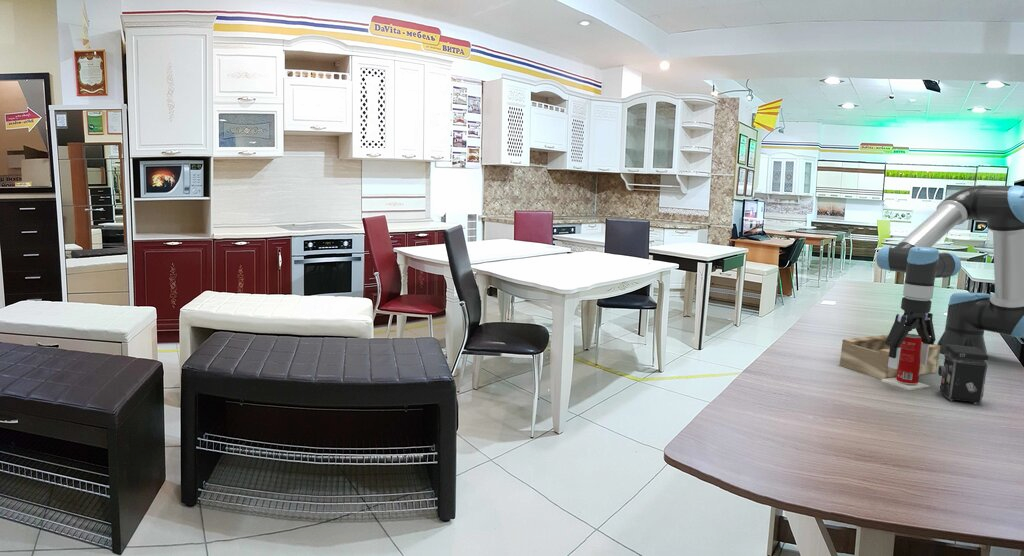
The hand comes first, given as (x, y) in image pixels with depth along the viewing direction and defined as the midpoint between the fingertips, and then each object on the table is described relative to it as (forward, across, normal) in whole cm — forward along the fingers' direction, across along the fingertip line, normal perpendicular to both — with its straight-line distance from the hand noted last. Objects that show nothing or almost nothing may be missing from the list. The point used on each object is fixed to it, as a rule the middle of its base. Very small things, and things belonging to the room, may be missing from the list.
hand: (907, 365), depth 186 cm
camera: (+6, -3, +13) cm, 15 cm away
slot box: (+6, -11, -13) cm, 18 cm away
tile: (+6, 0, 0) cm, 6 cm away
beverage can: (+5, 0, 0) cm, 5 cm away
